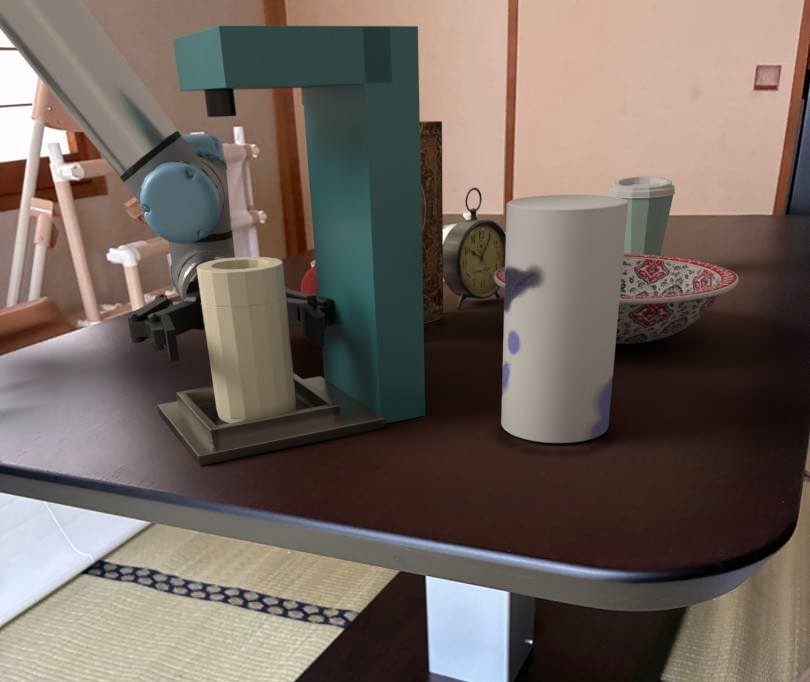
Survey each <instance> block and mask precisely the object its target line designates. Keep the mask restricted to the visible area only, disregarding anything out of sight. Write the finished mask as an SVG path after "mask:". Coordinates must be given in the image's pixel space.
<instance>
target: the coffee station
mask: <svg viewBox="0 0 810 682" xmlns="http://www.w3.org/2000/svg"><path fill="white" fill-rule="evenodd" d="M172 42H173V49H174V56H175V64H176V71H177V79H178V86H179V91H180V92H204V93H203V94H204V101H205V109H206V116H207V117H208V118H222V117H223V118H224V117H225V118H226V117H236V116H237V107H236V106H237V105H236V98H235V91H237V90H240V91H241V90H273V89H279V90H280V89H301V90H302V91H301V92H302V104H303V105H302V106H303V117H304V118H303V119H304V129H305V130H304V131H305V145H306V156H307V157H306V158H307V169H308V170H307V171H308V182H309V196H310V206H311V207H310V209H311V221H312V222H311V223H312V235H313V246H314V247H313V249H314V260H315V263H316V276H317V289H318V296H320V297H325V298H329V299H333V311H334V325H331V326H326V330H324V347H321V352H322V353H321V355H322V367H323V376H321V375H320V376H315V377H309V378H308V377H307V378H302V377H301V376H299V375H297V374H296V373H295V372H293V375H294V386H295V396H296V411H292V412H287V413H282V414H276V415H271V416H266V417H260V418H255V419H250V420H245V421H239V422H234V423H227V422H224V421H222V420H221V419H220V418H219V417H218V411H217V409H216V402H215V395H214V388H213V385H211V386H205V387H198V388H194V389H193V388H192V389H188V390H182V391H177V392H176V394H175V395H176V400H177V401H171V402H166V403H160V404H157V412H158V415H159V416H160V418H162V420H163V421H164V422H165V424H166V425H167V426H168V427H169V428H170V430H171V431H172V432H173V434H174V435H175V436H176V437H177V439H178V440H179V442H181V444H182V445H183V446H184V448H185V449H186V450H187V451H188V453H189V454H190V455H191V457H192V458H193V459H194V460H195V461H196V463H197V464H198V465H199V467H204V466H208V465H212V464H218V463H221V462H227V461H231V460H237V459H241V458H245V457H246V458H247V457H251V456H256V455H260V454H265V453H270V452H275V451H279V450H280V451H281V450H284V449H290V448H295V447H299V446H305V445H308V444H314V443H318V442H319V443H320V442H323V441H327V440H332V439H338V438H342V437H348V436H351V435H357V434H361V433H367V432H372V431H375V430H381V429H384V428H385V424H390V423H391V424H392V423H396V422H400V421H405V420H409V419H410V420H411V419H414V418H420V417H425V416H426V384H425V382H426V381H425V379H426V378H425V374H426V373H425V332H424V331H425V326H424V325H425V324H424V321H423V268H422V215H421V162H420V121H421V120H420V119H421V115H420V111H421V110H420V67H419V66H420V62H419V56H420V55H419V26H418V25H216V26H213V27H209V28H206V29H205V28H204V29H202V30H199V31H195V32H192V33H188V34H185V35H181V36H178V37H174V38H172Z"/></svg>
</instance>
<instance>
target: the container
mask: <svg viewBox="0 0 810 682" xmlns="http://www.w3.org/2000/svg"><path fill="white" fill-rule="evenodd" d="M627 209H628V201H627V200H625V199H622V198H617V197H610V196H609V195H599V194H598V195H596V194H553V195H552V194H551V195H537V196H526V197H519V198H516V199H512V200H509V201H507V202H506V214H505V215H506V216H505V218H506V220H505V232H506V254H505V281H506V284H505V289H504V296H503V297H504V298H503V299H504V301H503V336H502V337H503V339H502V341H503V342H502V346H503V347H502V379H501V392H502V395H501V417H500V419H501V420H500V423H501V424H500V425H501V427H502V428H503V430H504V431H506V432H507V433H509V434H510V435H512V436H514V437H517V438H519V439H522V440H527V441H531V442H537V443H546V444H571V443H572V444H573V443H579V442H580V443H581V442H585V441H589V440H593V439H595V438H598V437H600V436H602V435H604V434H605V433H606V432H607V431H608V429H609V424H610V412H611V402H612V401H611V399H612V390H613V389H612V388H613V378H614V368H615V357H616V356H615V355H616V346H617V344H616V334H617V322H618V311H619V300H620V288H621V277H622V266H623V255H624V243H625V232H626V221H627Z"/></svg>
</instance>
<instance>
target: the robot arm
mask: <svg viewBox="0 0 810 682" xmlns="http://www.w3.org/2000/svg"><path fill="white" fill-rule="evenodd" d="M0 30H1V32H2V33H3V35H5V37H6V38H7V39H8V41H9V42H10V44H12V45H13V47H14V48H15V49H16V50H17V52H18V53H19V54H20V55H21V57H22V58H23V59H24V60H25V62H26V63H27V64H28V65H29V66H30V68H31V69H32V70H33V71H34V73H35V74H36V75H37V76H38V78H39V79H40V80H41V81H42V83H43V85H45V86H46V88H47V89H48V90H49V92H51V94H52V95H53V96H54V97H55V99H56V100H57V101H58V102H59V104H60V105H61V106H62V107H63V109H64V110H65V111H66V113H67V114H68V115H69V116H70V117H71V119H72V120H73V121H74V122H75V123H76V125H77V126H78V127H79V128H80V130H81V131H82V132H83V133H84V135H85V136H86V138H87V139H88V140H89V141H90V142H91V143H92V144H93V146H94V147H95V148H96V149H97V151H98V152H99V153H100V155H101V156H102V157H103V158H104V159H105V161H106V162H107V163H108V165H109V166H110V167H111V168H112V169H113V171H114V172H115V173H116V174H117V176H118V177H119V178H120V180H121V181H122V182H123V184H124V185H125V187H126V188H127V189H128V191H130V194H131V195H132V196H133V197H134V199H136V200H137V202H138V203H139V206H140V210H141V212H142V215H143V218H144V220H145V222H146V223H147V225H148V226H149V228H150V229H151V230H152V231H153V232H154V233H155V234H156V235H157V236H159V237H160V238H162V239H163V240H165V241H167V242H168V246H169V255H170V261H171V264H170V266H169V271H170V275H171V276H170V278H171V283H172V286H173V288H174V289H175V291H176V293H177V294H178V295H179V297H180V298H181V301H180V300H179V301H173V297H172V296H168V295H167V294H163V293H159V294H158V295H155V297H154V299H153V300H152V301H150V302H149V303H146V304H145V305H143V306H142V307H140V308H138V309H136V310H134V311H132V312H131V313H129V314H128V315H126V316H127V322H128V327H129V333H130V340H131V342H132V343H134V344H140V343H143V342H145V341H146V340H148V339H150V340H151V341H150V342H151V347H152V350H153V351H162V350H165V348H166V352H167V355H168V357H169V362H179V361H180V356H179V355H180V354H179V347H178V340H177V336H179V335H181V334H184V333H186V332H189V331H192V330H194V331H195V330H197V331H203V330H204V331H205V324H204V317H203V310H202V303H201V302H202V301H201V295H200V288H199V281H198V274H197V267H198V265H200V264H202V263H205V262H208V261H213V260H218V259H226V258H236V254H235V244H234V237H233V236H234V235H233V230H232V219H231V208H230V207H231V206H230V195H229V186H228V185H229V184H228V174H227V173H228V172H227V171H228V165H227V162H226V159H225V158H226V157H225V152H224V144H223V141H222V140H221V138H220V137H219V136H218V135H216V134H211V133H185V134H183V133H180V132H179V129H177V127H176V126H175V125H174V123H173V122H172V120H171V119H170V118H169V116H168V115H167V114H166V112H165V111H164V109H163V108H162V107H161V105H160V104H159V103H158V101H157V100H156V98H154V96H153V95H152V94H151V92H150V91H149V89H148V88H147V87H146V85H145V84H144V83H143V82H142V80H141V79H140V77H139V76H138V75H137V73H136V72H135V71H134V70H133V68H132V67H131V66H130V63H128V61H127V60H126V58H125V57H124V55H122V53H121V52H120V50H119V49H118V48H117V46H116V45H115V43H114V42H113V41H112V40H111V39H110V37H109V36H108V34H107V33H106V32H105V30H104V29H103V28H102V26H101V25H100V24H99V22H98V20H97V19H96V18H95V17H94V15H93V13H91V11H90V10H89V8H88V7H87V6H86V5H85V3H84V1H83V0H0ZM285 290H286V301H287V312H288V322H289V326H293V327H299V328H300V330H301V333H303V335H304V336H305V337H306V338H307V339H308V340H309V341H310V342H311V343H312V344H313V346H314V347H316V348H322V347H324V330H326V326H331V325H334V311H333V299H329V298H325V297H320V296H317V295H316V294H307V293H303V292H301V291H299V290H294V289H290V288H289V287H288V286H285Z"/></svg>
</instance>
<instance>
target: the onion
mask: <svg viewBox="0 0 810 682" xmlns="http://www.w3.org/2000/svg"><path fill="white" fill-rule="evenodd" d="M300 292H303V293H307V294H316V295H317V296H318V289H317V276H316V263H315V265H314V266H313V267H310V269H308V271H306V273H305V274H304V276H303V278H302V280H301V283H300Z"/></svg>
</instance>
